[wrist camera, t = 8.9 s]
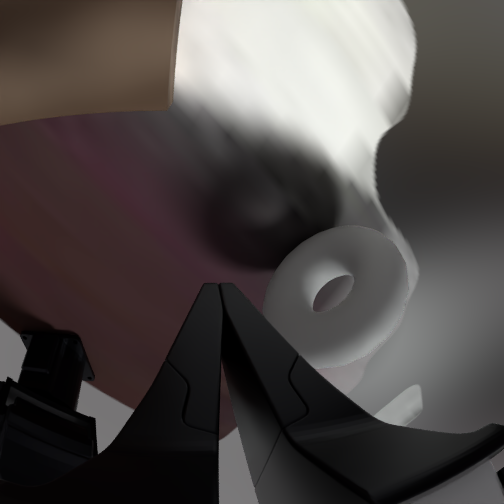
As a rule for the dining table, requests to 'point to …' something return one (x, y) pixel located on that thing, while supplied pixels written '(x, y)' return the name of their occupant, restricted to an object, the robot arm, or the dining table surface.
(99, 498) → the robot arm
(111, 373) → the dining table surface
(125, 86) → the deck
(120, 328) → the dining table surface
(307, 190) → the dining table surface
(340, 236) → the donut
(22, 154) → the dining table surface
